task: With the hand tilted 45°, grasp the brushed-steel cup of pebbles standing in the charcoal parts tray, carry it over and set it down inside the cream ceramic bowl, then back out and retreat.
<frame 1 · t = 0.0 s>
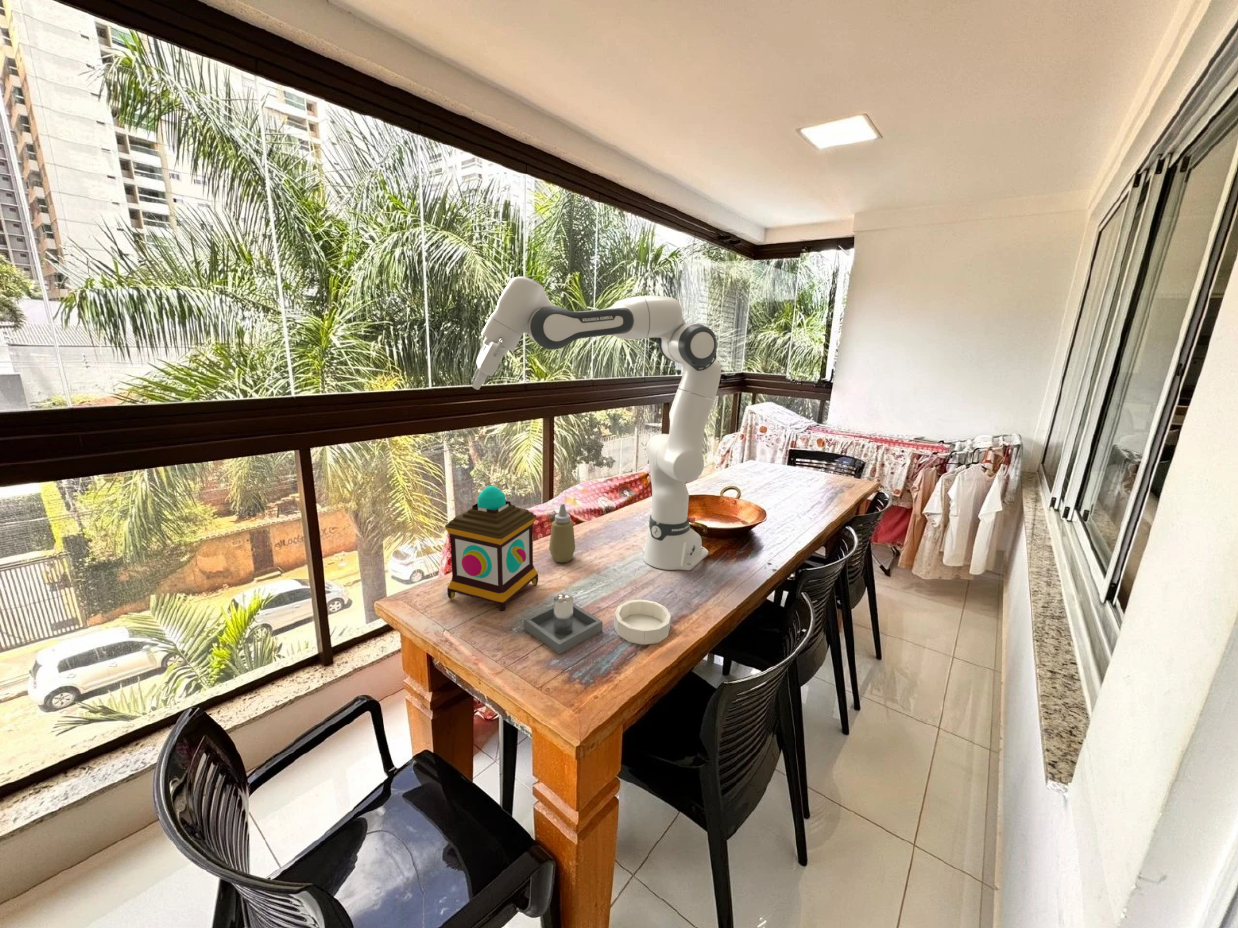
hand: (474, 386, 126), 54 cm above the table, tool tilted 30°, fingers open, 8 cm apart
bowl: (641, 630, 120), on the table
pebble cup: (563, 629, 117), point 1 cm above the table, touching parts tray
squeeze bottle: (562, 559, 155), on the table
parts tray: (563, 633, 118), on the table
decorative lantern: (494, 592, 135), on the table
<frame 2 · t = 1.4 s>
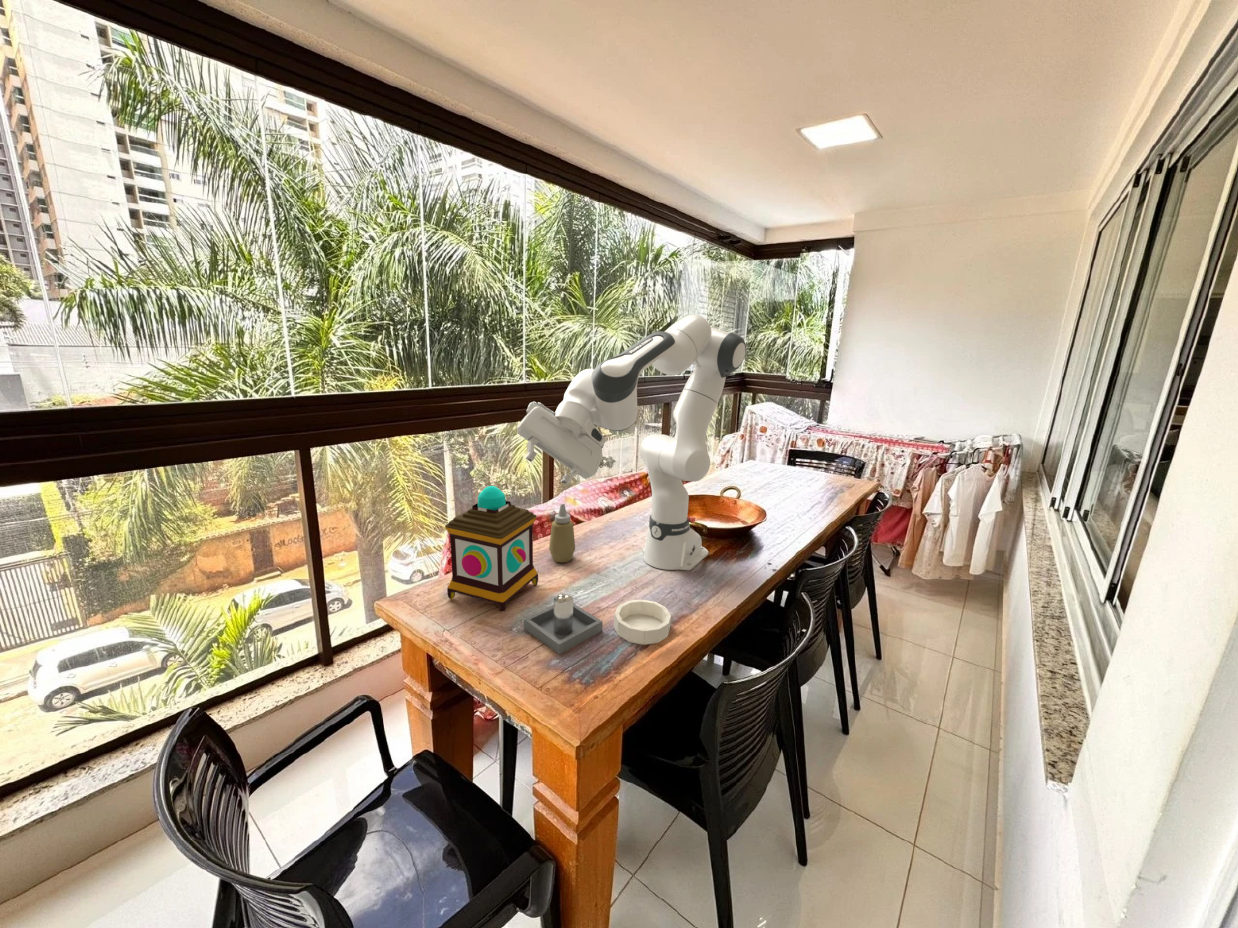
hand: (547, 471, 108), 40 cm above the table, tool tilted 55°, fingers open, 8 cm apart
nothing on the table moved.
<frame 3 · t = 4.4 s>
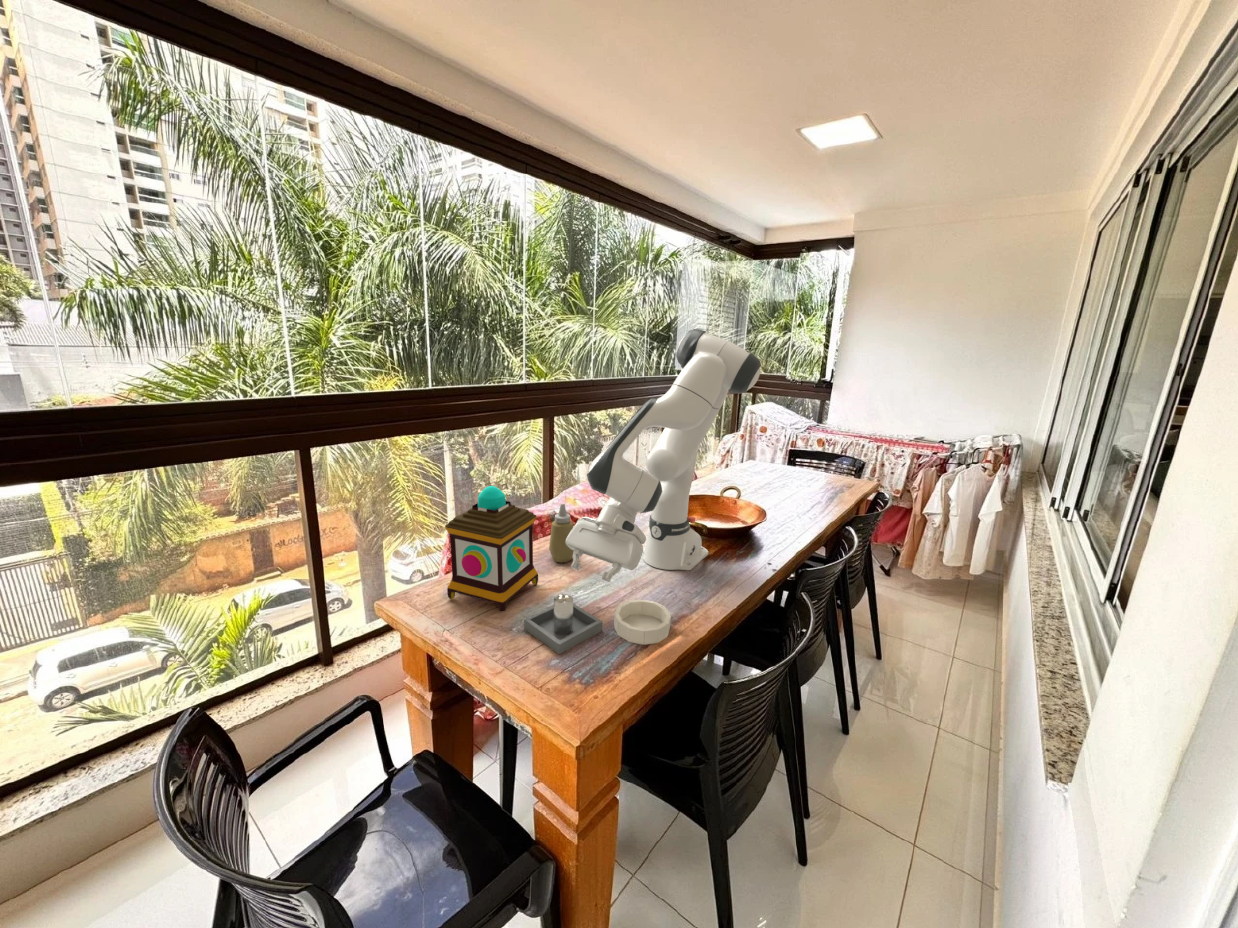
hand: (589, 574, 120), 12 cm above the table, tool tilted 45°, fingers open, 8 cm apart
nothing on the table moved.
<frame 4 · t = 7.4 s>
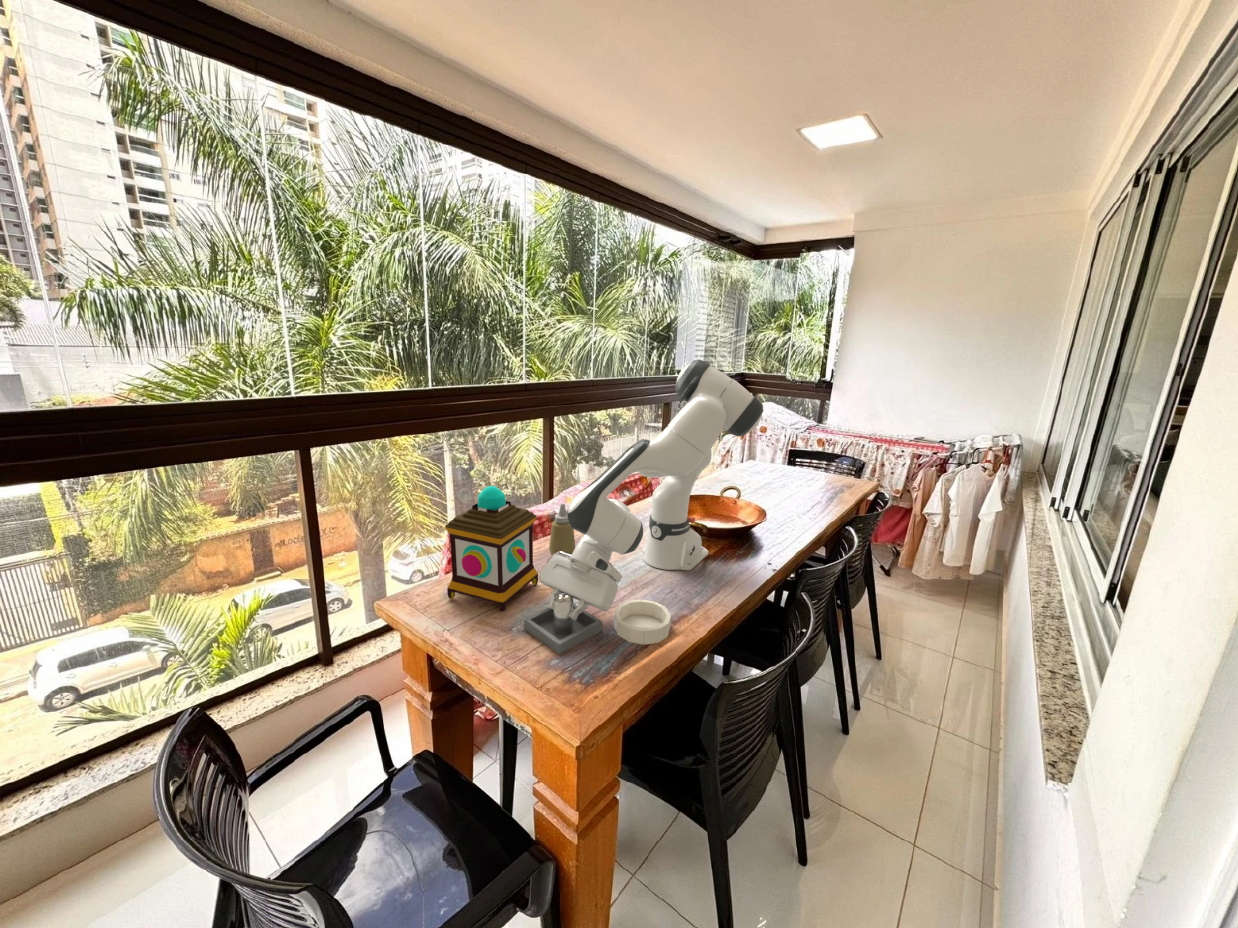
hand: (561, 614, 116), 5 cm above the table, tool tilted 45°, fingers closed on pebble cup, 4 cm apart
pebble cup: (563, 629, 117), point 1 cm above the table, touching gripper, parts tray
everything else where it was.
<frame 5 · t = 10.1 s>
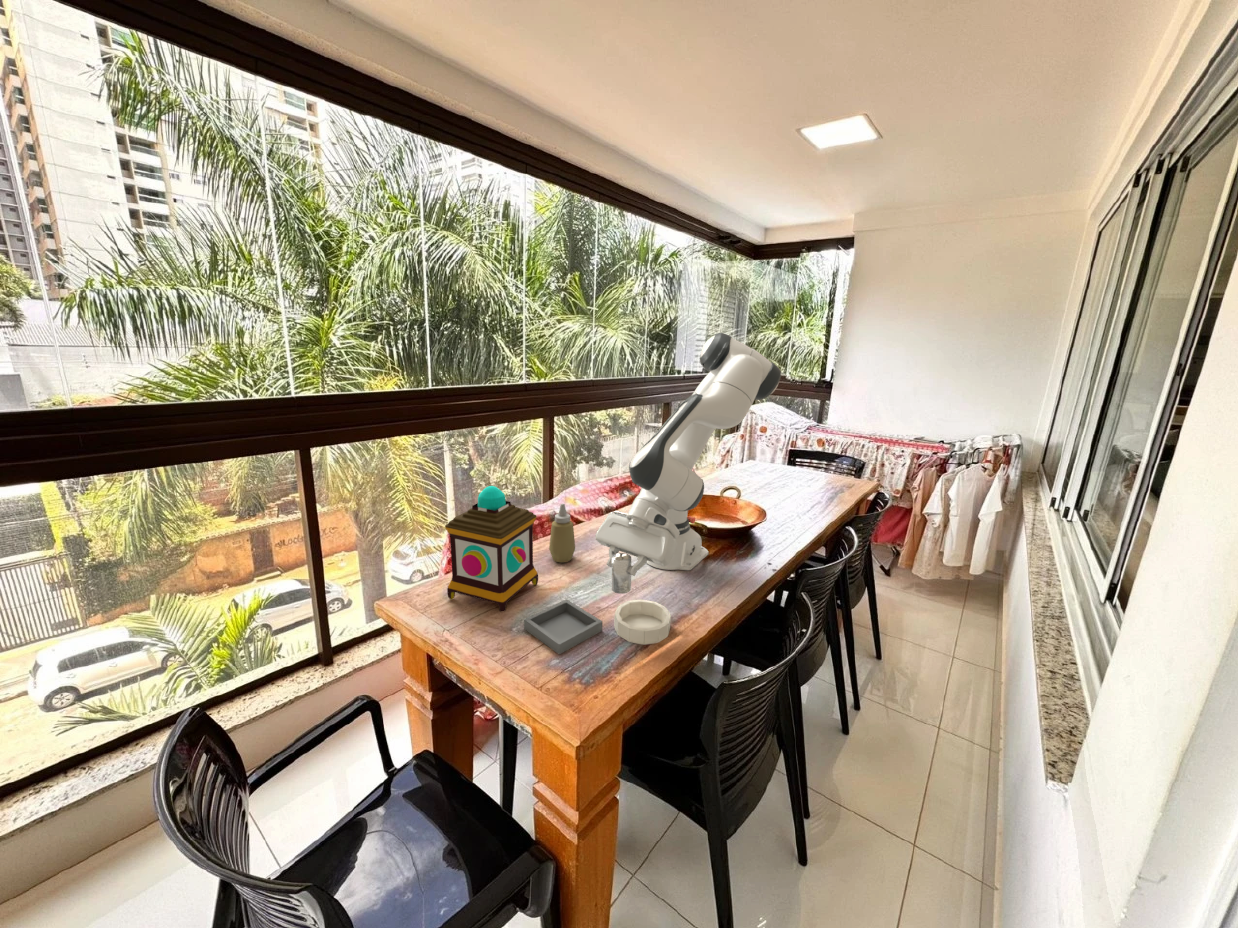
hand: (620, 570, 115), 16 cm above the table, tool tilted 45°, fingers closed on pebble cup, 4 cm apart
pebble cup: (621, 588, 117), point 11 cm above the table, touching gripper
everything else where it was.
when the fingers open (7 cm above the table, at t = 13.0 s): pebble cup drops 1 cm, resting on bowl.
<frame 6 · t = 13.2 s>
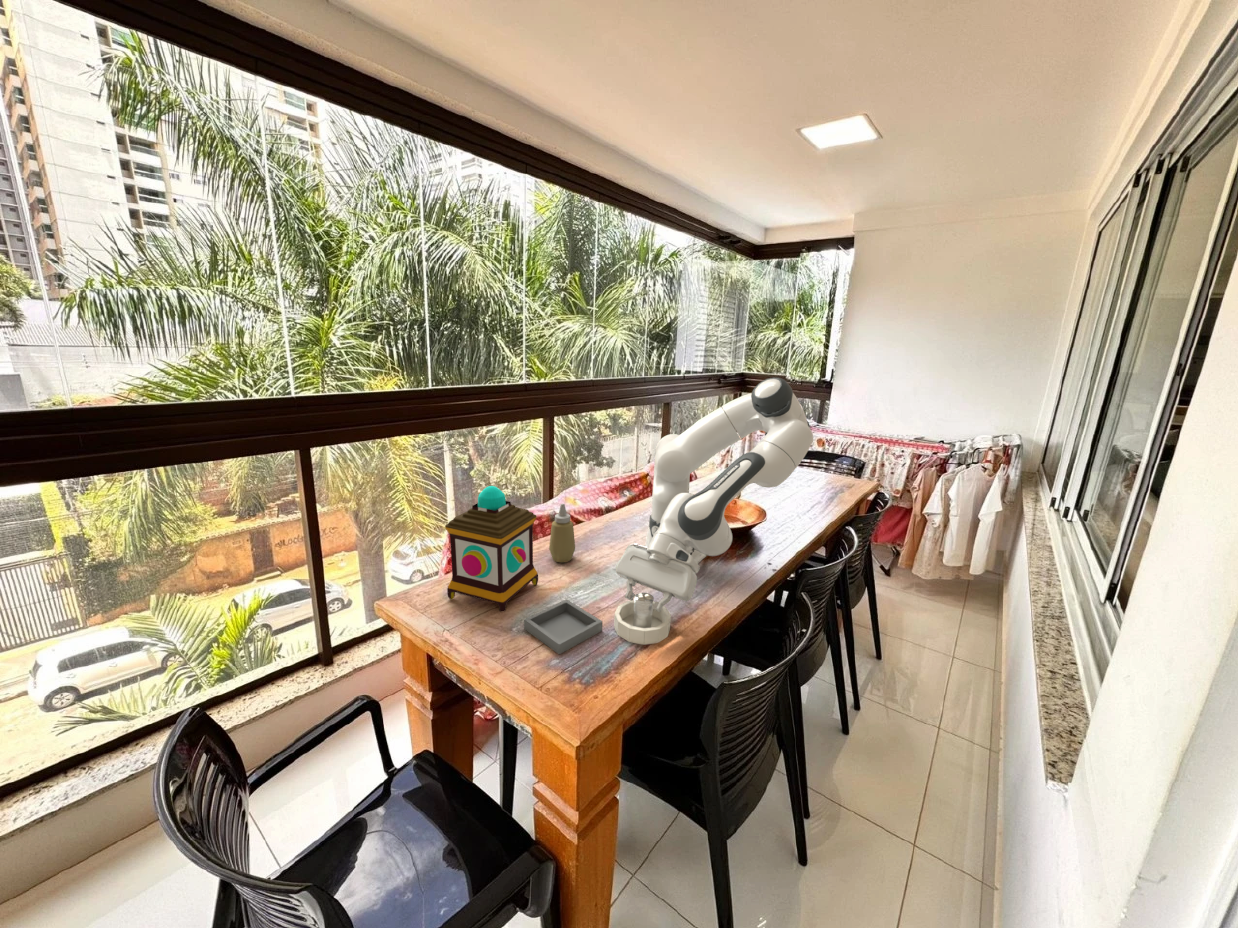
hand: (642, 604, 117), 7 cm above the table, tool tilted 45°, fingers open, 6 cm apart
pebble cup: (641, 627, 120), point 1 cm above the table, touching bowl
everything else where it was.
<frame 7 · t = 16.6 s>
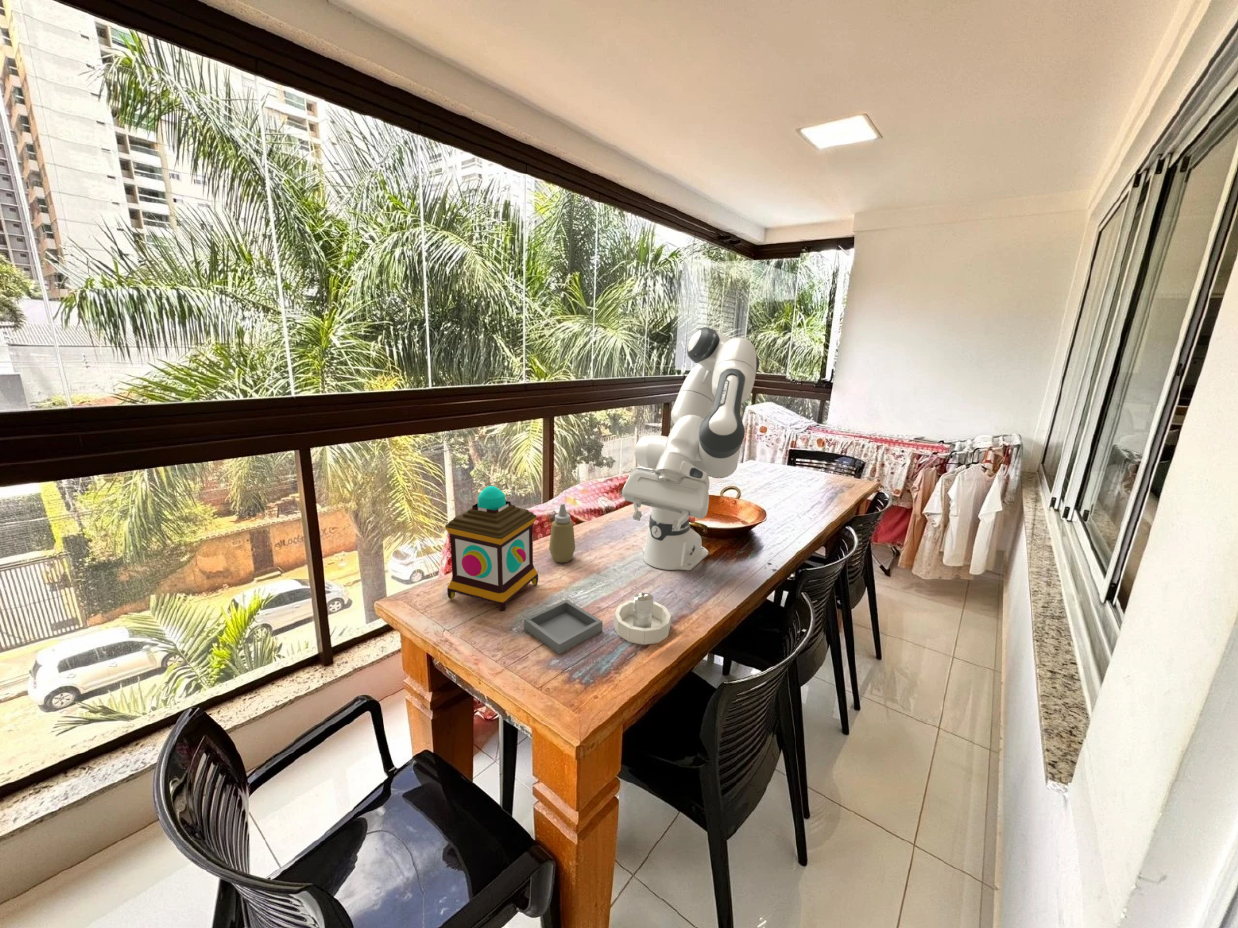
hand: (655, 524, 113), 28 cm above the table, tool tilted 45°, fingers open, 8 cm apart
nothing on the table moved.
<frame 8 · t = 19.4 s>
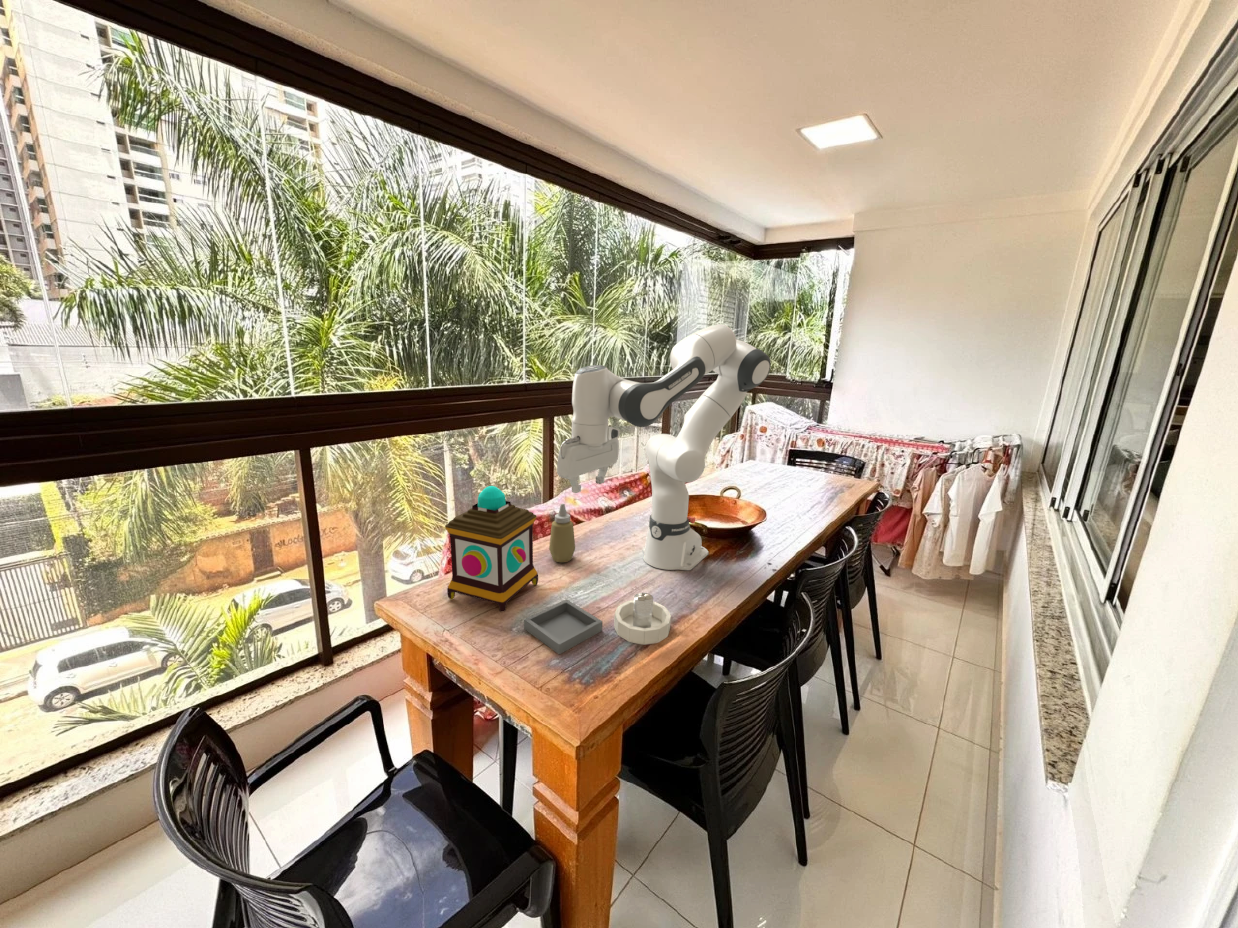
hand: (588, 487, 125), 31 cm above the table, tool pointing down, fingers open, 8 cm apart
nothing on the table moved.
at the end: pebble cup inside the target area on the bowl (0.1 cm from its centre), point 1.0 cm above the bowl's base; pebble cup tilted 0°; the gripper is holding nothing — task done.
